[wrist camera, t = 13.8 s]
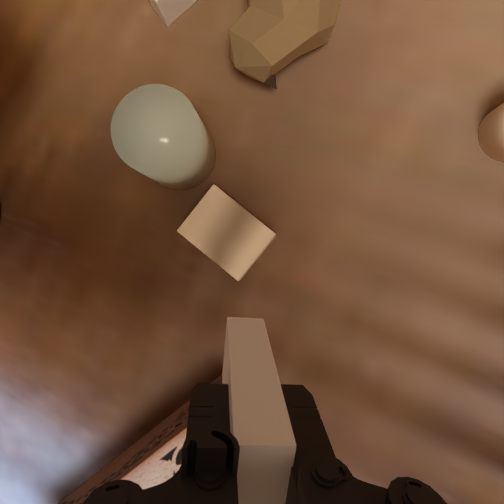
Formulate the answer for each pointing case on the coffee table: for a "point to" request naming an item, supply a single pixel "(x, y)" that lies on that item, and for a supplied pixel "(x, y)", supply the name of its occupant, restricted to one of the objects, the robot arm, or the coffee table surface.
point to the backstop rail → (170, 9)
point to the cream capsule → (493, 134)
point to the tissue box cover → (144, 457)
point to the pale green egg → (163, 137)
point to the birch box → (226, 232)
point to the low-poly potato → (279, 34)
